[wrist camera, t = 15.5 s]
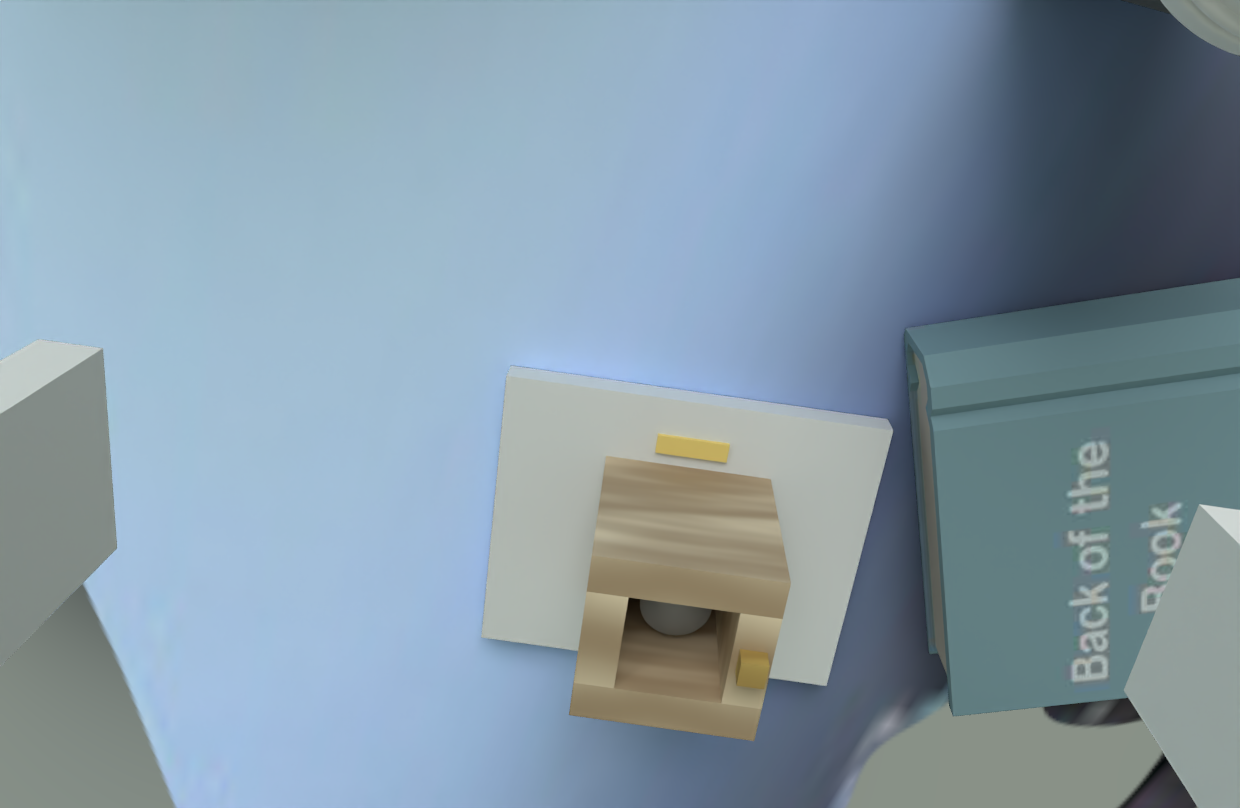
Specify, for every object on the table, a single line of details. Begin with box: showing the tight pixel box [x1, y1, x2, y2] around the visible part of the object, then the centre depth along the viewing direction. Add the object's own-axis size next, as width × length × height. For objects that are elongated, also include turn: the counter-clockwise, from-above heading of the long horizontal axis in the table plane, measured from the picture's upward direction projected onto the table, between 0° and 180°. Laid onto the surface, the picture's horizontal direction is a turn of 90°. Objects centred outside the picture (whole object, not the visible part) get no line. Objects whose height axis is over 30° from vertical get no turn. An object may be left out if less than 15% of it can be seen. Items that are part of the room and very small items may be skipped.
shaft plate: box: [481, 366, 893, 686], centre depth 42 cm, size 16×13×6 cm
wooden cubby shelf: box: [569, 456, 791, 741], centre depth 40 cm, size 7×7×9 cm
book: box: [904, 278, 1240, 716], centre depth 41 cm, size 23×16×5 cm
